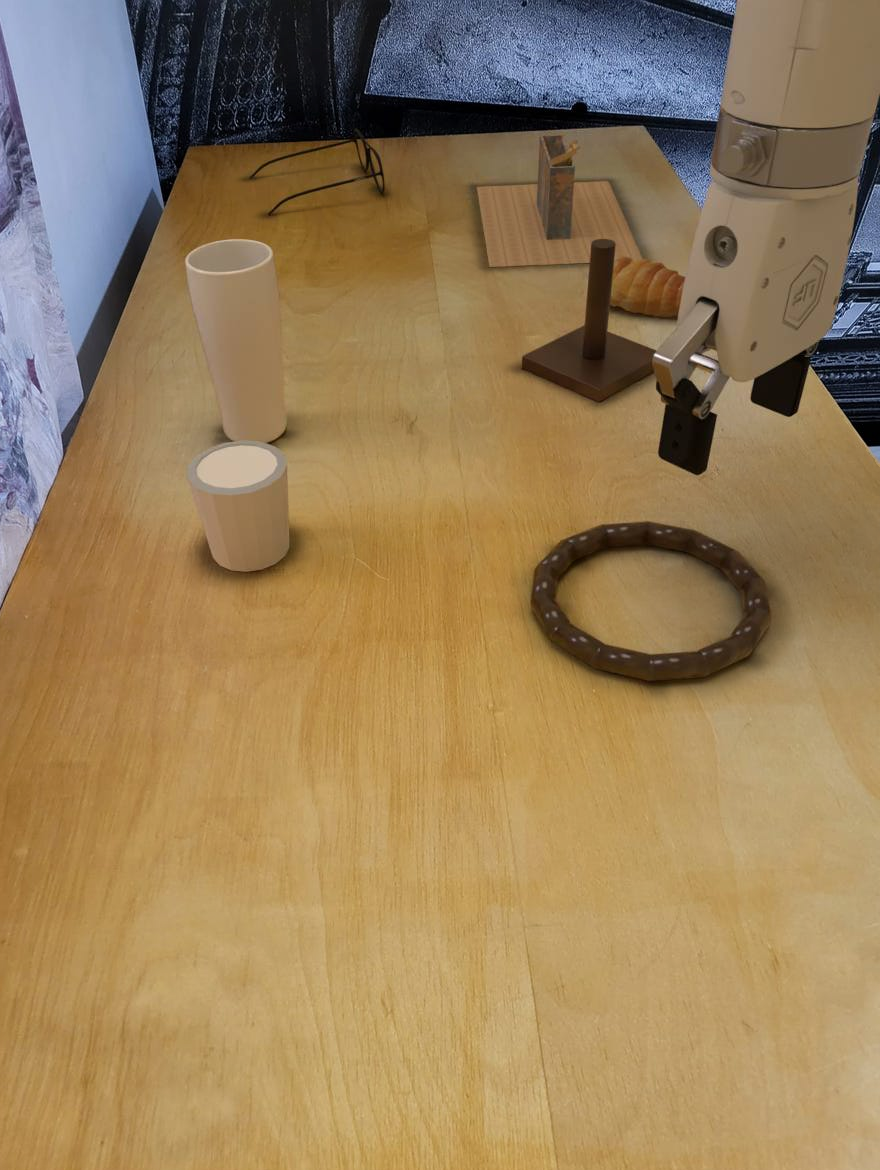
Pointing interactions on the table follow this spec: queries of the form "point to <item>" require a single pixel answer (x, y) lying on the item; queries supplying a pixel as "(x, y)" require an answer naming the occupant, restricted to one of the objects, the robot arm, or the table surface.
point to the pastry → (646, 287)
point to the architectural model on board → (552, 215)
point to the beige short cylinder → (242, 503)
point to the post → (593, 342)
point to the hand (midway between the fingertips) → (728, 435)
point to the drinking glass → (240, 334)
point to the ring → (640, 662)
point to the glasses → (368, 160)
